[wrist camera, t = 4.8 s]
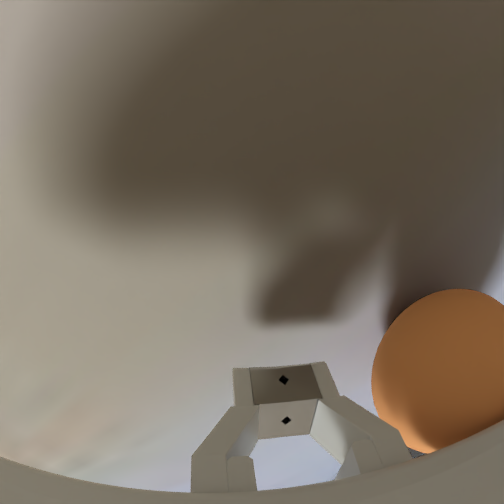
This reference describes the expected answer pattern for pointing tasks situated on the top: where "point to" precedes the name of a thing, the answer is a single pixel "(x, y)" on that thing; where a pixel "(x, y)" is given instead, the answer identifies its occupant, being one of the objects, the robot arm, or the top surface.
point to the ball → (442, 369)
